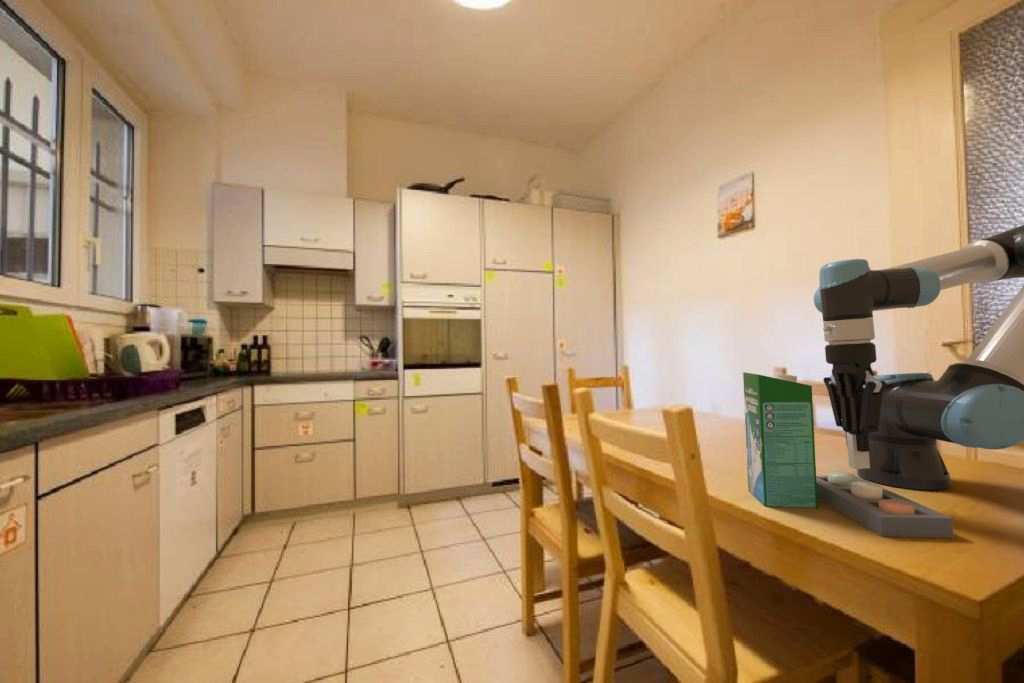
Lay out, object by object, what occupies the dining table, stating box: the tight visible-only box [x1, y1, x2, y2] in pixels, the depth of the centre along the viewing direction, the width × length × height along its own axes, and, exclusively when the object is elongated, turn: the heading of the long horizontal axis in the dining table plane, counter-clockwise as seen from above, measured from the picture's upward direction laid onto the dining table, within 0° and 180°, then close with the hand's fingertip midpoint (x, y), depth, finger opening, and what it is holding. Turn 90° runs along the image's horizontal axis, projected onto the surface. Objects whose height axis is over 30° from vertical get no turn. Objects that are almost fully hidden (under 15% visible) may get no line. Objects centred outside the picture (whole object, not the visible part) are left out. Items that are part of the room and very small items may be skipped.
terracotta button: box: [879, 500, 915, 515], centre depth 70 cm, size 4×4×3 cm
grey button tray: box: [816, 475, 954, 539], centre depth 77 cm, size 22×10×3 cm, turn 173°
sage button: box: [827, 470, 856, 486], centre depth 84 cm, size 4×4×3 cm
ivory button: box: [851, 482, 883, 499], centre depth 77 cm, size 4×4×3 cm
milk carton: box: [742, 371, 819, 509], centre depth 84 cm, size 9×9×25 cm
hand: (859, 467), depth 80 cm, fingers closed
